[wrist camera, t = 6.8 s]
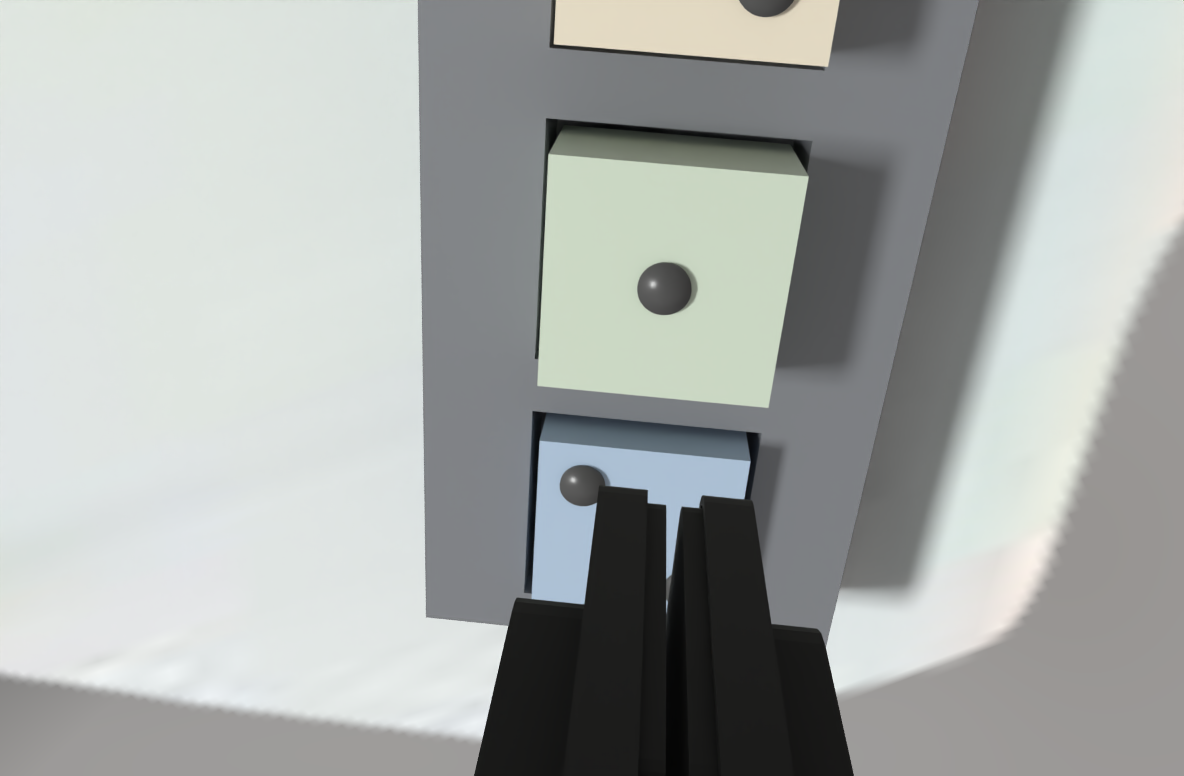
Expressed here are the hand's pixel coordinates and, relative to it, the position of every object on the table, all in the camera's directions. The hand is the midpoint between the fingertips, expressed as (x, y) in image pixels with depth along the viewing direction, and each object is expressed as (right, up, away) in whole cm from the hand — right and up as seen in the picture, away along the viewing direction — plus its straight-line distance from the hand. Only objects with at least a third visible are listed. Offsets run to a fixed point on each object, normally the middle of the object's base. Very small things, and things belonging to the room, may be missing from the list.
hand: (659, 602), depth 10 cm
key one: (+1, +6, +11) cm, 13 cm away
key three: (+1, 0, +15) cm, 15 cm away
